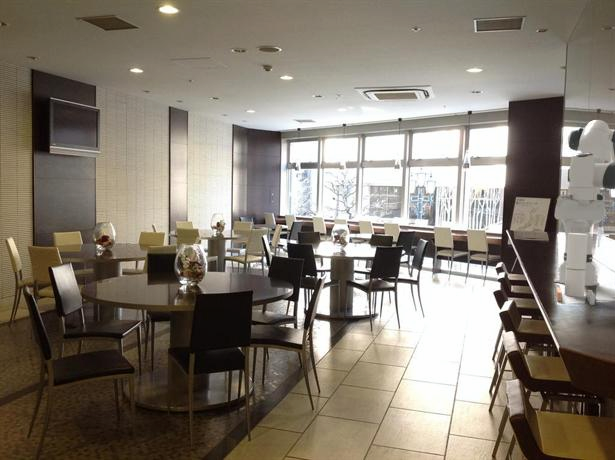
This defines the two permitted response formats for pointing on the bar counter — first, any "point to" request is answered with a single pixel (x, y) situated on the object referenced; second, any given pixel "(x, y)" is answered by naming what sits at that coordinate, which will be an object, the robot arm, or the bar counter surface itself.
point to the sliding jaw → (558, 292)
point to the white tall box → (576, 264)
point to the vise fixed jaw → (591, 297)
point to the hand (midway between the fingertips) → (578, 231)
